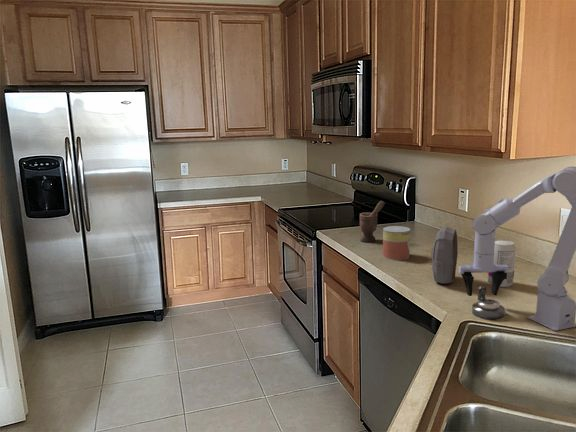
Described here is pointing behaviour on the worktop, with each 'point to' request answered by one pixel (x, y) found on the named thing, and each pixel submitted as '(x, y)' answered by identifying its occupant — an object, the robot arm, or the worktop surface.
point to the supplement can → (504, 260)
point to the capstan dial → (486, 300)
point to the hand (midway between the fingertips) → (481, 294)
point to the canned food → (396, 242)
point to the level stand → (488, 312)
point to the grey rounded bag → (444, 255)
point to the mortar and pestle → (369, 223)
